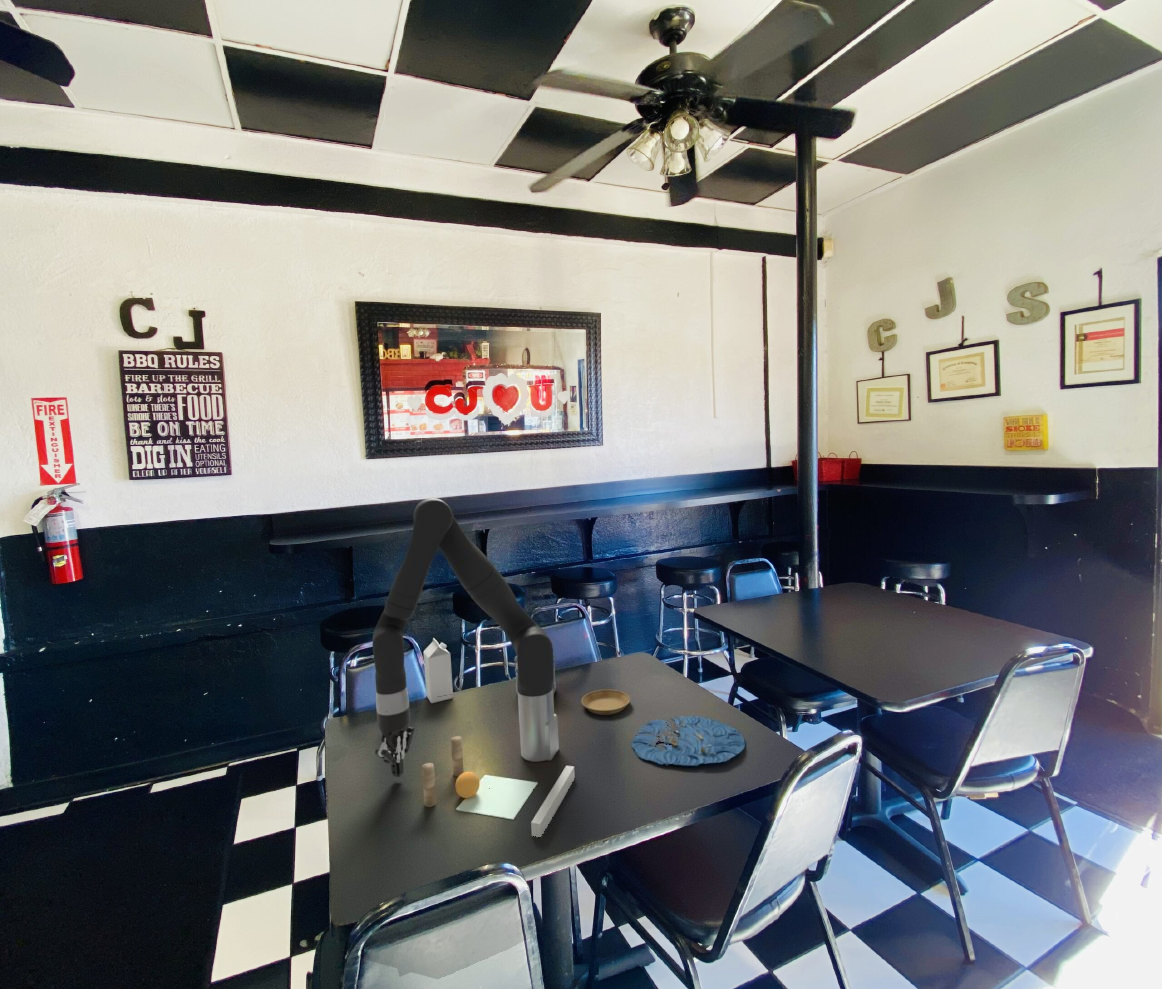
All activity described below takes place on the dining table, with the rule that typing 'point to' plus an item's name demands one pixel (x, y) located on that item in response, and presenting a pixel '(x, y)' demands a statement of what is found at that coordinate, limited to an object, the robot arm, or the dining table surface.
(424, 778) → the post left
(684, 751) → the decorative plate
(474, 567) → the robot arm
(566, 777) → the rail
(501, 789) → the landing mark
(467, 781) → the ball
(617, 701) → the plant saucer
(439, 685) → the milk carton
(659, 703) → the dining table surface
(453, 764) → the post right
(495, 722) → the dining table surface
